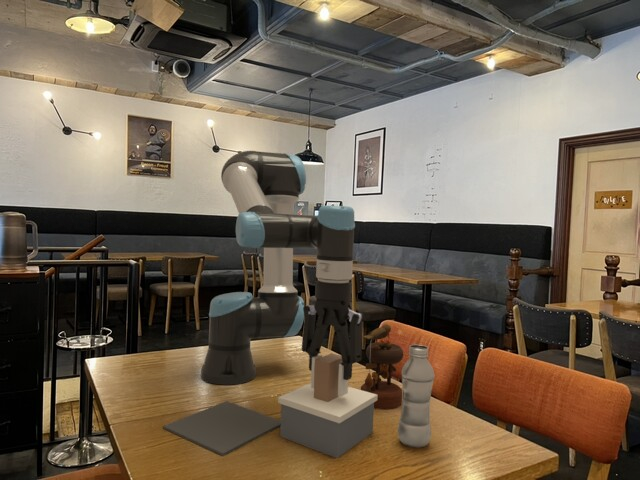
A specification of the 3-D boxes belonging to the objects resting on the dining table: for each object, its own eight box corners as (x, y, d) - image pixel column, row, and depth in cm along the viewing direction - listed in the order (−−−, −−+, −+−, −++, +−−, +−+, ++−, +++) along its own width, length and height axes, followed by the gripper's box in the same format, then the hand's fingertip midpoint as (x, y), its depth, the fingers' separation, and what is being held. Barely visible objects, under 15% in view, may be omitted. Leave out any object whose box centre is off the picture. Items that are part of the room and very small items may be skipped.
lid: (277, 407, 94) (279, 358, 94) (319, 388, 107) (321, 344, 106) (339, 428, 86) (341, 374, 86) (377, 404, 98) (379, 357, 98)
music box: (388, 415, 107) (386, 329, 108) (349, 407, 114) (346, 326, 114) (416, 397, 120) (413, 320, 120) (378, 390, 126) (376, 317, 127)
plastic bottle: (393, 436, 97) (398, 342, 96) (425, 436, 97) (429, 343, 97) (401, 451, 90) (406, 351, 90) (435, 451, 91) (440, 351, 90)
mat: (162, 428, 96) (162, 425, 96) (226, 403, 111) (226, 401, 111) (222, 456, 86) (222, 453, 86) (284, 424, 101) (284, 421, 101)
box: (280, 436, 95) (281, 402, 95) (319, 414, 106) (320, 385, 106) (337, 458, 87) (338, 421, 87) (372, 432, 98) (374, 400, 98)
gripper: (286, 277, 98) (282, 384, 99) (364, 287, 87) (359, 407, 88) (307, 274, 104) (303, 375, 105) (383, 283, 93) (378, 396, 94)
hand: (329, 390), depth 96 cm, fingers open, 6 cm apart
